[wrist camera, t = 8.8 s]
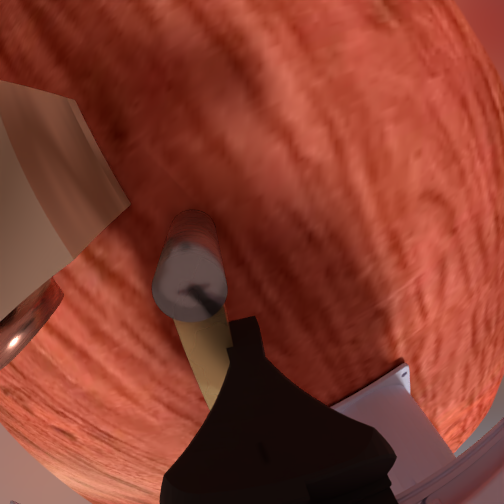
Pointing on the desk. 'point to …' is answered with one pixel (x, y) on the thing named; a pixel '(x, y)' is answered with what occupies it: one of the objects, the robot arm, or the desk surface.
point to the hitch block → (47, 189)
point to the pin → (27, 320)
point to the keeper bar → (196, 297)
